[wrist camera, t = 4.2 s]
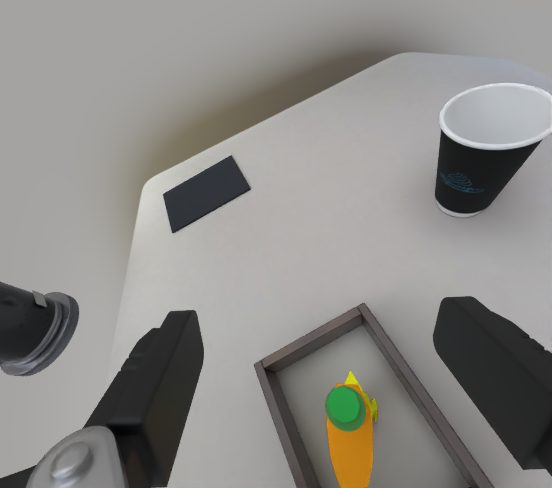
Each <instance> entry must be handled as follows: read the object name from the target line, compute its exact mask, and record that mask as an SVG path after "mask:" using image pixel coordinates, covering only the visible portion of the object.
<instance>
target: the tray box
mask: <svg viewBox="0 0 552 488" xmlns="http://www.w3.org/2000/svg"><path fill="white" fill-rule="evenodd" d="M362 324H363V325H364V326H365V328H366V329H367V331H368V332H369V334H370V336H371V337H372V339H373V340H374V342H375V343H376V345H377V346H378V348H379V349H380V351H381V352H382V354H383V355H384V357H385V358H386V360H387V361H388V363H389V364H390V366H391V367H392V369H393V370H394V372H395V373H396V375H397V376H398V378H399V379H400V381H401V382H402V384H403V385H404V387H405V388H406V390H407V392H408V393H409V395H410V396H411V398H412V399H413V401H414V402H415V404H416V405H417V407H418V408H419V410H420V411H421V413H422V414H423V416H424V417H425V419H426V420H427V422H428V423H429V425H430V426H431V428H432V429H433V431H434V432H435V434H436V435H437V437H438V438H439V440H440V441H441V443H442V444H443V446H444V448H445V449H446V451H447V452H448V454H449V455H450V457H451V458H452V460H453V461H454V463H455V464H456V466H457V467H458V469H459V470H460V472H461V473H462V475H463V476H464V478H465V479H466V481H467V482H468V484H469V485H470V487H469V488H494V486H493V485H492V484H491V482H490V481H489V479H488V478H487V476H486V475H485V474H484V472H483V471H482V469H481V468H480V467H479V465H478V464H477V462H476V461H475V459H474V458H473V457H472V455H471V454H470V452H469V451H468V449H467V448H466V447H465V445H464V444H463V442H462V441H461V439H460V438H459V437H458V435H457V434H456V432H455V431H454V429H453V428H452V427H451V425H450V424H449V422H448V421H447V420H446V418H445V417H444V415H443V414H442V412H441V411H440V410H439V408H438V407H437V405H436V404H435V402H434V401H433V400H432V398H431V397H430V395H429V394H428V392H427V391H426V390H425V388H424V387H423V385H422V384H421V382H420V381H419V380H418V378H417V377H416V375H415V374H414V373H413V371H412V370H411V368H410V367H409V365H408V364H407V363H406V361H405V360H404V358H403V357H402V355H401V354H400V353H399V351H398V350H397V348H396V347H395V345H394V344H393V343H392V341H391V340H390V338H389V337H388V335H387V334H386V333H385V331H384V330H383V328H382V327H381V326H380V324H379V323H378V321H377V320H376V318H375V317H374V316H373V314H372V313H371V311H370V310H369V308H368V307H367V306H366V304H365V303H362V304H360V305H359V306H357V307H355V308H353V309H351V310H350V311H348V312H346V313H344V314H342V315H341V316H339V317H337V318H335V319H334V320H332V321H330V322H328V323H326V324H325V325H323V326H321V327H319V328H317V329H316V330H314V331H312V332H310V333H309V334H307V335H305V336H303V337H301V338H300V339H298V340H296V341H294V342H292V343H291V344H289V345H287V346H285V347H284V348H282V349H280V350H278V351H276V352H275V353H273V354H271V355H269V356H267V357H266V358H264V359H262V360H260V361H259V362H257V363H255V364H254V367H255V370H256V373H257V376H258V379H259V381H260V384H261V387H262V390H263V393H264V396H265V398H266V401H267V404H268V407H269V410H270V413H271V416H272V418H273V421H274V424H275V427H276V430H277V433H278V435H279V438H280V441H281V444H282V447H283V450H284V453H285V455H286V458H287V461H288V464H289V467H290V470H291V472H292V475H293V478H294V481H295V484H296V487H297V488H321V487H320V485H319V482H318V480H317V477H316V475H315V472H314V470H313V467H312V465H311V462H310V460H309V457H308V454H307V452H306V449H305V447H304V444H303V442H302V439H301V437H300V434H299V432H298V429H297V427H296V424H295V421H294V419H293V416H292V414H291V411H290V409H289V406H288V404H287V401H286V399H285V396H284V394H283V391H282V388H281V386H280V383H279V381H278V378H277V376H276V372H278V371H280V370H282V369H283V368H285V367H287V366H289V365H291V364H292V363H294V362H296V361H298V360H300V359H301V358H303V357H305V356H307V355H309V354H310V353H312V352H314V351H316V350H317V349H319V348H321V347H323V346H325V345H326V344H328V343H330V342H332V341H334V340H335V339H337V338H339V337H341V336H343V335H344V334H346V333H348V332H350V331H351V330H353V329H355V328H357V327H359V326H360V325H362Z"/></svg>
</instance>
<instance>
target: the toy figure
mask: <svg viewBox="0 0 552 488" xmlns="http://www.w3.org/2000/svg"><path fill="white" fill-rule="evenodd" d="M371 403H372V404H371ZM326 413H327V432H328V440H329V448H330V456H331V460H332V464H333V467H334V471H335V475H336V478H337V480H338V482H339V484H340V487H341V488H367V486H368V484H369V480H370V475H371V470H372V465H373V426H372V420H373V416H374V420H375V423H376V422H377V418H378V407H377V402H376V400H375V399H372V402H370V399H369V397H368V395H367V394H366V393H364V391H363V390H362V388H361V386H360V385H359V383H358V382H357V380H356V378H355V377H354V375H353V373H352V372H351V371H350V373H349V375H348V377H347V379H346V382H345V384H338V383H337V384H336V387H335V388H334V389H333V390H332V391H331V392H330V393H329V394H328V396H327V399H326Z"/></svg>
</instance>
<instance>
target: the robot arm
mask: <svg viewBox="0 0 552 488" xmlns="http://www.w3.org/2000/svg"><path fill="white" fill-rule="evenodd" d="M61 317H62V307H61V305H60V303H59V302H58V301H56V300H53V299H51V298H47V297H44V296H43V294H41V293H38V292H35V291H33V293H31V292H29V291H26V290H23V289H20V288H17V287H14V286H11V285H8V284H5V283H2V282H0V365H6V364H13V365H21V364H24V363H27V362H29V361H30V360H32V359H33V358H35V357H36V356H37V355H39V354H40V353H41V352H42V351H43V350H44V349H45V348H46V346H47V345H48V344H49V343H50V341H51V340H52V338H53V337H54V335H55V333H56V331H57V329H58V327H59V325H60V322H61ZM433 342H434V346H435V349H436V352H437V353H438V355H439V356H440V358H441V359H442V361H443V362H444V363H445V365H446V366H447V367H448V369H449V370H450V371H451V373H452V374H453V375H454V377H455V378H456V379H457V381H458V382H459V384H460V385H461V386H462V388H463V389H464V390H465V392H466V393H467V394H468V396H469V397H470V398H471V400H472V401H473V403H474V404H475V405H476V407H477V408H478V409H479V411H480V412H481V413H482V415H483V416H484V417H485V419H486V420H487V422H488V423H489V424H490V426H491V427H492V428H493V430H494V431H495V432H496V434H497V435H498V436H499V438H500V439H501V441H502V442H503V443H504V445H505V446H506V447H507V449H508V450H509V451H510V453H511V454H512V455H513V457H514V458H515V459H516V461H517V462H518V464H519V465H520V466H521V468H522V469H523V470H528V469H546V470H547V471H548V472H549V473H550V475H551V476H552V353H550V352H549V351H548V350H546V351H545V350H544V347H543V346H542V345H540V344H539V343H538V342H537V341H535V340H534V339H530V337H529V335H528V334H527V333H525V332H524V331H523V330H522V329H520V328H519V327H518V326H517V325H515V324H514V323H513V322H511V321H509V320H507V319H505V318H503V317H502V316H500V315H498V314H496V313H494V312H491V311H490V310H489V309H488V308H486V307H485V306H484V305H483V304H482V303H480V302H479V301H478V300H477V299H475V298H474V297H471V296H465V297H446V298H444V299H443V300H442V301H441V304H440V308H439V312H438V317H437V321H436V325H435V329H434V333H433ZM203 359H204V347H203V342H202V337H201V332H200V327H199V322H198V317H197V313H196V311H195V310H185V311H170V312H169V313H168V315H167V316H166V318H165V320H164V322H163V324H162V325H161V327H160V328H152V329H151V330H150V331H149V332H148V333H147V334H146V335H144V336H143V337H142V338H141V339H140V340H139V341H138V342H137V344H136V345H135V347H134V348H133V350H132V351H131V353H130V355H129V358H127V359H126V361H125V363H124V364H123V366H122V367H121V371H119V372H118V374H117V375H116V377H115V378H114V380H113V381H112V383H111V385H110V386H109V388H108V389H107V391H106V393H105V394H104V396H103V397H102V399H101V400H100V402H99V404H98V405H97V407H96V408H95V410H94V411H93V413H92V415H91V416H90V418H89V419H88V421H87V422H86V424H85V426H84V427H83V428H82V429H81V430H78V431H76V432H74V433H72V434H70V435H69V436H67V437H65V438H64V439H63V440H61V441H60V442H58V443H57V444H56V445H55V446H54V447H52V448H51V449H50V450H49V451H48V452H47V453H46V455H44V457H43V458H42V459H41V460H40V461H39V463H38V464H37V465H35V466H33V467H31V468H28V469H25V470H23V471H20V472H17V473H14V474H11V475H9V476H6V477H3V478H0V488H157V487H167V484H168V481H169V477H170V474H171V471H172V467H173V464H174V460H175V457H176V454H177V450H178V447H179V444H180V440H181V437H182V433H183V430H184V427H185V423H186V420H187V416H188V413H189V410H190V406H191V403H192V399H193V396H194V393H195V389H196V386H197V383H198V379H199V376H200V372H201V369H202V365H203Z"/></svg>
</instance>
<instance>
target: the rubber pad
mask: <svg viewBox="0 0 552 488" xmlns="http://www.w3.org/2000/svg"><path fill="white" fill-rule="evenodd" d="M248 190H250V187H249V185H248V183H247V182H246V180H245V178H244V177H243V175H242V173H241V171H240V170H239V168H238V166H237V164H236V163H235V161H234V159H233V157H232V156H229V157H227V158H225V159H224V160H222V161H220V162H218V163H217V164H215V165H213V166H211V167H210V168H208V169H206V170H204V171H203V172H201V173H199V174H197V175H196V176H194V177H192V178H190V179H189V180H187V181H185V182H183V183H182V184H180V185H178V186H176V187H175V188H173V189H171V190H169V191H168V192H166V193H164V194H163V196H164V200H165V205H166V209H167V213H168V217H169V221H170V226H171V230H172V233H174V232H176V231H178V230H180V229H182V228H183V227H185V226H187V225H189V224H190V223H192V222H194V221H196V220H197V219H199V218H201V217H203V216H204V215H206V214H208V213H210V212H211V211H213V210H215V209H217V208H218V207H220V206H222V205H224V204H226V203H227V202H229V201H231V200H233V199H234V198H236V197H238V196H240V195H241V194H243V193H245V192H247V191H248Z"/></svg>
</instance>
